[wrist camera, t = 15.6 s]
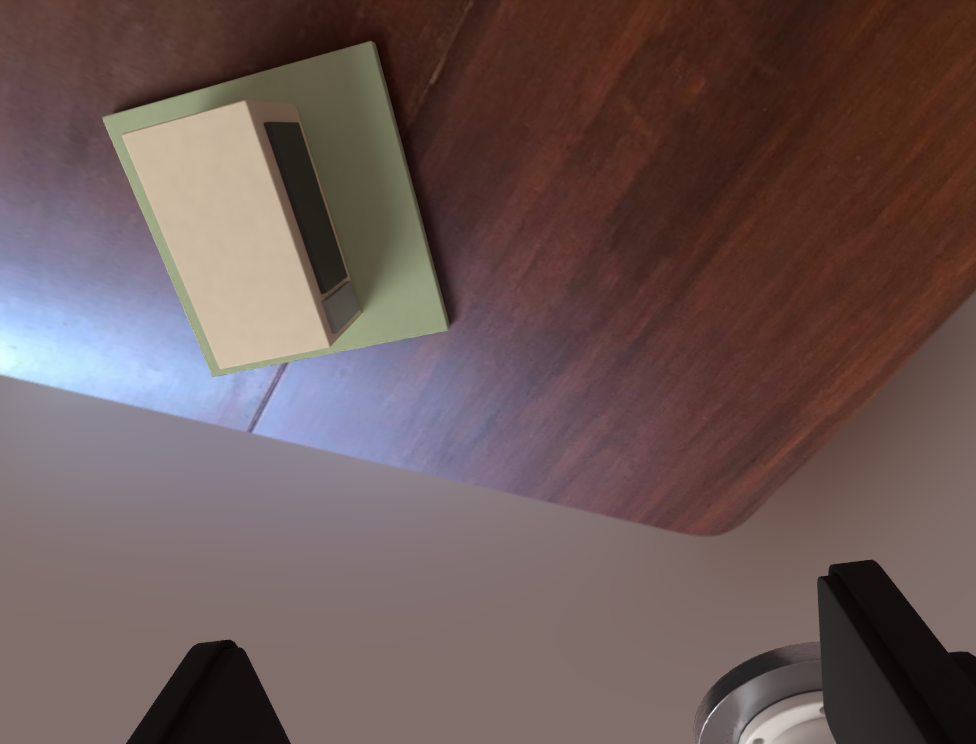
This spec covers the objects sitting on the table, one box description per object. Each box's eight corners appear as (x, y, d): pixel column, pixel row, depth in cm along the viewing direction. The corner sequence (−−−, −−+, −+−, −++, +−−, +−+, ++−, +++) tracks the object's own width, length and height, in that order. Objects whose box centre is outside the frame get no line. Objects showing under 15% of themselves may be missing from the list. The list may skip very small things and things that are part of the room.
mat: (450, 326, 37) (448, 330, 36) (218, 372, 40) (212, 377, 39) (375, 42, 32) (371, 40, 31) (110, 117, 34) (101, 117, 33)
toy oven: (301, 102, 32) (251, 97, 27) (367, 313, 36) (336, 346, 31) (189, 132, 33) (119, 133, 28) (266, 334, 37) (219, 369, 32)
